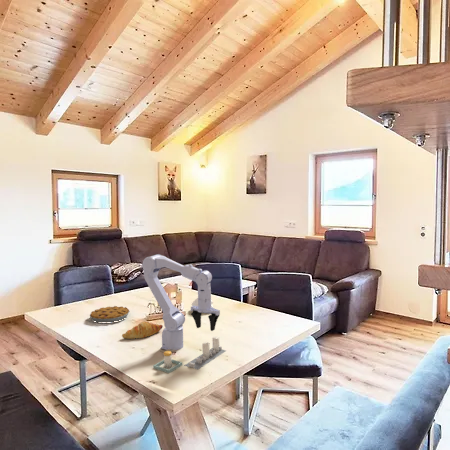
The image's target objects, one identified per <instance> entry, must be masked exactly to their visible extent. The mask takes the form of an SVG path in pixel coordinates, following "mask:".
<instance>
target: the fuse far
mask: <svg viewBox="0 0 450 450" xmlns="http://www.w3.org/2000/svg"><path fill="white" fill-rule="evenodd" d="M211 339H212V340H211V341H212V348H213V350H216V353H218V352H219V346H220V337H219V336H213V337H212V338H211Z"/></svg>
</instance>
